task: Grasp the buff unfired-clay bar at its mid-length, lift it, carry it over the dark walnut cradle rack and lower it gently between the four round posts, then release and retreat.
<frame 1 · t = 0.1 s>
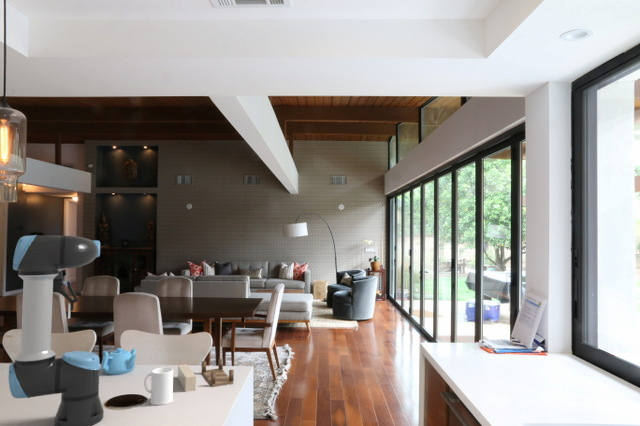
hand: (51, 319, 195), 28 cm above the kitchen island, fingers open, 13 cm apart
teapot: (119, 371, 214), on the kitchen island
mug: (158, 401, 175), on the kitchen island
clay strip: (186, 384, 195), on the kitchen island
rack: (217, 378, 203), on the kitchen island
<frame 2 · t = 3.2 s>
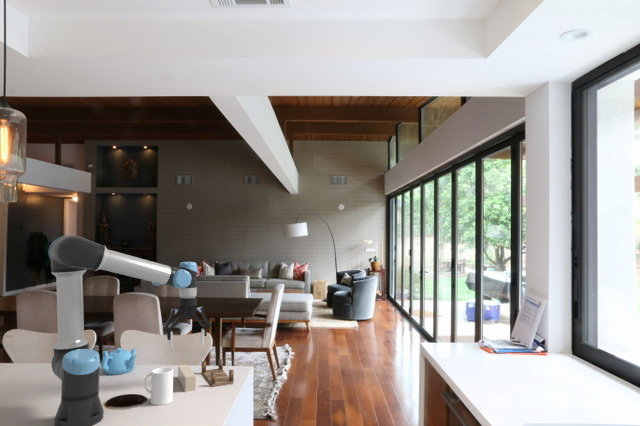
hand: (187, 345, 196), 17 cm above the kitchen island, fingers open, 13 cm apart
nothing on the kitchen island moved.
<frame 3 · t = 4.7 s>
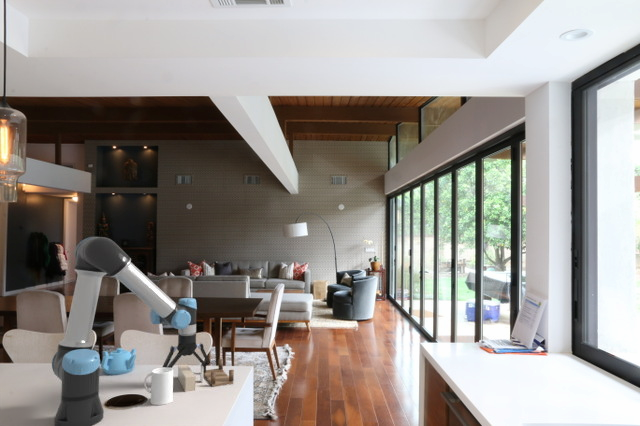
hand: (186, 382, 196), 0 cm above the kitchen island, fingers open, 13 cm apart
nothing on the kitchen island moved.
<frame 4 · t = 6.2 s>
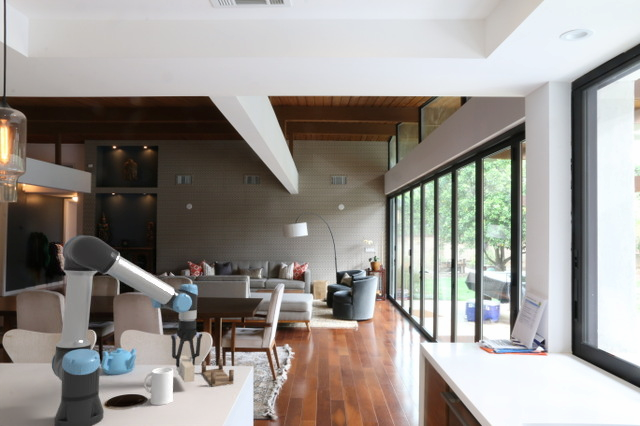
hand: (184, 373, 195), 5 cm above the kitchen island, fingers closed on clay strip, 4 cm apart
clay strip: (184, 375, 195), point 4 cm above the kitchen island, touching gripper
everything else where it was.
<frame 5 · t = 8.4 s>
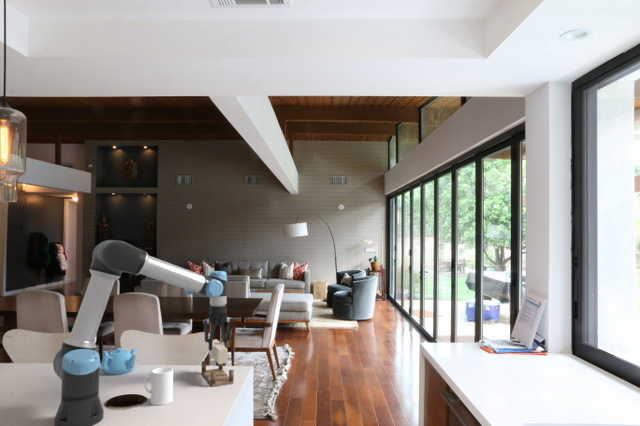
hand: (217, 356, 204), 10 cm above the kitchen island, fingers closed on clay strip, 4 cm apart
clay strip: (217, 357, 204), point 9 cm above the kitchen island, touching gripper
everything else where it was.
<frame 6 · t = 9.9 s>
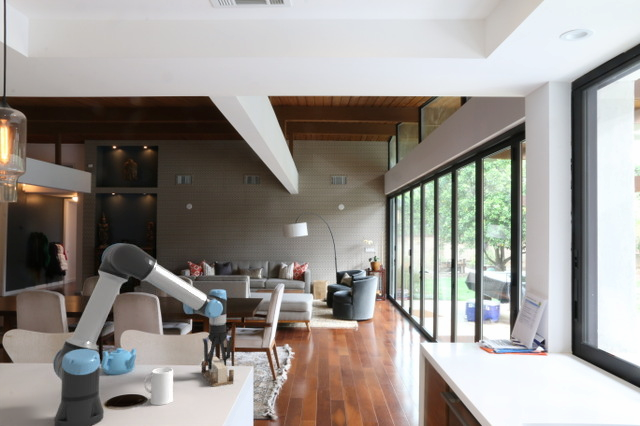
hand: (217, 375, 204), 1 cm above the kitchen island, fingers closed on clay strip, 4 cm apart
clay strip: (217, 375, 204), point 1 cm above the kitchen island, touching gripper, rack
everything else where it was.
when the fingers open (1 cm above the kitchen island, at t = 10.5 s): clay strip stays where it is, resting on rack.
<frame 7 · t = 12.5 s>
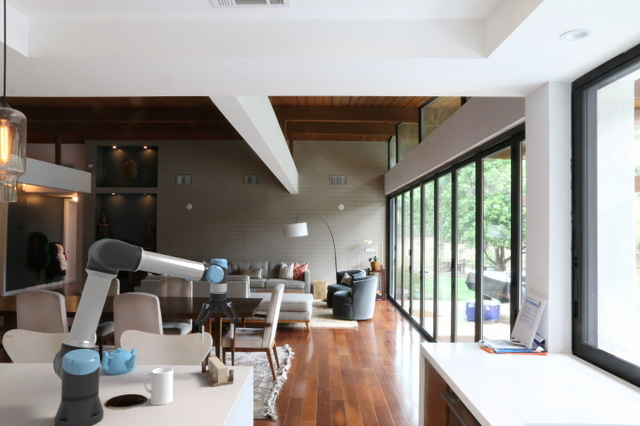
hand: (217, 339, 204), 18 cm above the kitchen island, fingers open, 13 cm apart
clay strip: (217, 375, 204), point 1 cm above the kitchen island, touching rack
everything else where it was.
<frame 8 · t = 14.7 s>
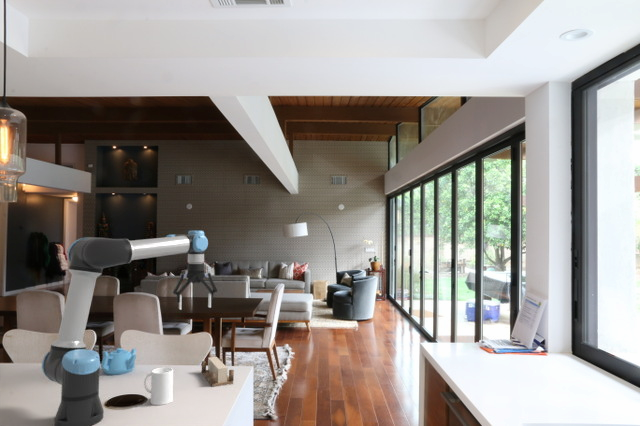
hand: (195, 308, 210), 31 cm above the kitchen island, fingers open, 13 cm apart
nothing on the kitchen island moved.
at the end: clay strip 0.1 cm off-centre on the rack, point 1.0 cm above the rack's base; clay strip tilted 0°; the gripper is holding nothing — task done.
